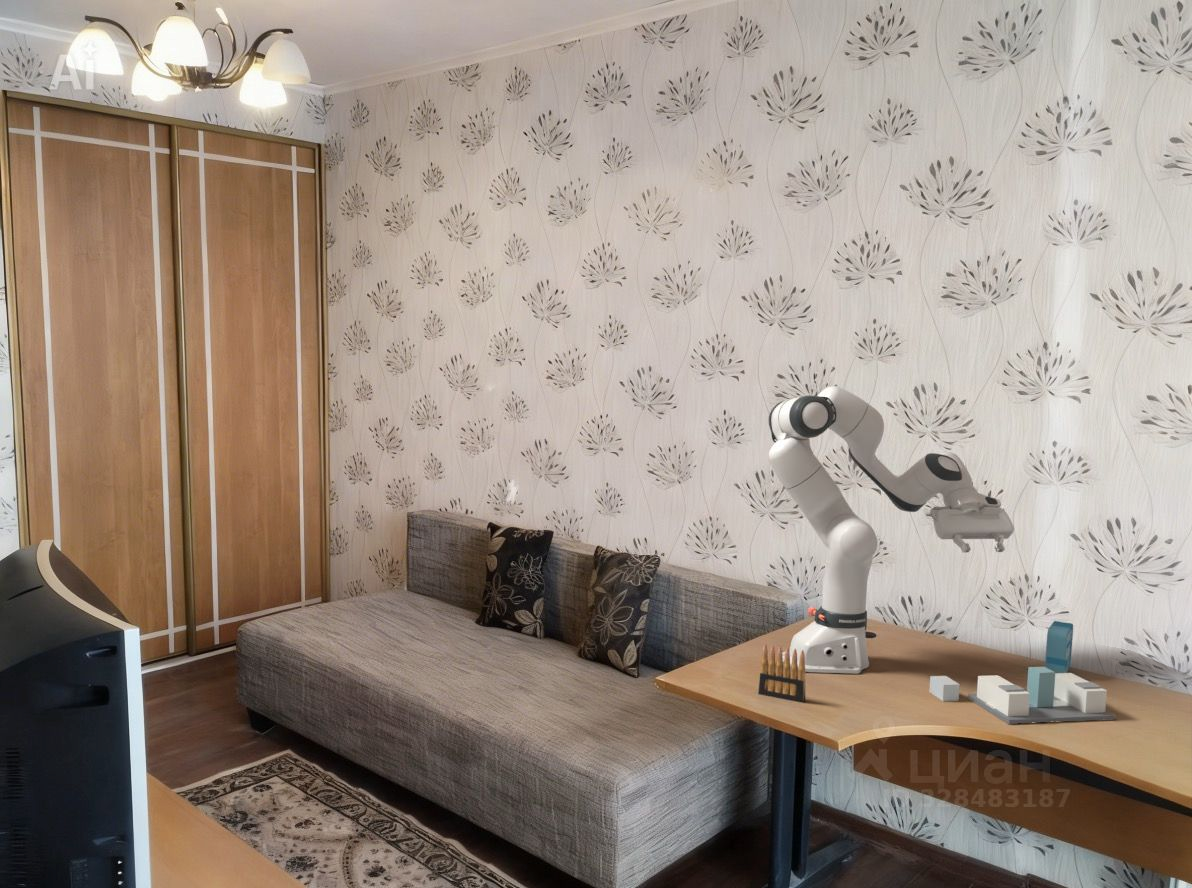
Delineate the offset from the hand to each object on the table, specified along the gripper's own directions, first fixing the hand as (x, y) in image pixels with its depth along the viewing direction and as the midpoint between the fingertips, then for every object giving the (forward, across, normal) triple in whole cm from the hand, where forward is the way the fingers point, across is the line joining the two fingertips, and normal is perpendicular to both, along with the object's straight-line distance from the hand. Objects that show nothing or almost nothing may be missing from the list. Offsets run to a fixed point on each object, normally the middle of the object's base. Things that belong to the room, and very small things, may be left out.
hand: (984, 551), depth 234 cm
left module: (+40, -10, +4) cm, 41 cm away
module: (+39, 0, +4) cm, 39 cm away
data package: (+23, +22, +21) cm, 38 cm away
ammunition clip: (+31, -57, +14) cm, 66 cm away
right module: (+40, +9, +4) cm, 41 cm away
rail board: (+40, 0, +4) cm, 40 cm away
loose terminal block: (+33, -18, +11) cm, 39 cm away
